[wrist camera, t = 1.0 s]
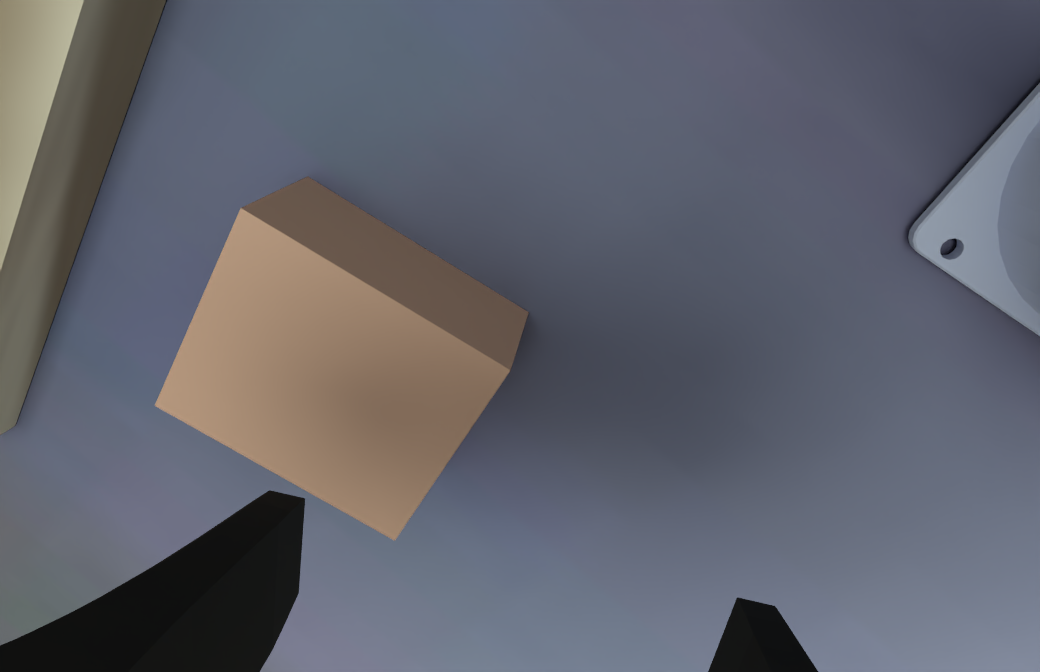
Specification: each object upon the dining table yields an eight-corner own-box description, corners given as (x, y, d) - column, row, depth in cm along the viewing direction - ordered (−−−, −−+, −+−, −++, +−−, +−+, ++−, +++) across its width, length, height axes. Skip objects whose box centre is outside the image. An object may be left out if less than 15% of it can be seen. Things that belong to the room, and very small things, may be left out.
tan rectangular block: (529, 309, 20) (510, 370, 17) (430, 458, 23) (394, 540, 19) (310, 175, 20) (240, 207, 16) (231, 343, 22) (154, 405, 18)
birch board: (241, -213, 16) (164, -261, 13) (15, 425, 24) (-63, 476, 21) (120, -295, 16) (15, -364, 13) (-70, 378, 24) (-160, 423, 21)
